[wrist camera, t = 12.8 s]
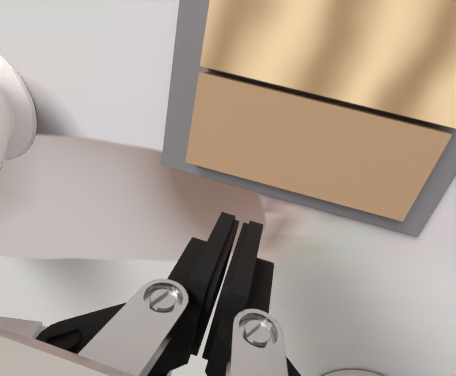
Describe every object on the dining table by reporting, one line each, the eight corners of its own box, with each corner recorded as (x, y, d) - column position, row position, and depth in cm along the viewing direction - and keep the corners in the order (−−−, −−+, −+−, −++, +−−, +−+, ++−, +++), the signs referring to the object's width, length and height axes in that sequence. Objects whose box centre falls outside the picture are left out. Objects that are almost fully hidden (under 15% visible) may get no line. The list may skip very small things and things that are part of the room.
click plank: (502, 17, 21) (521, 14, 19) (444, 122, 24) (456, 128, 22) (223, -42, 22) (217, -50, 21) (206, 64, 26) (199, 66, 24)
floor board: (576, -41, 20) (621, -54, 17) (414, 230, 30) (426, 249, 27) (197, -114, 22) (183, -136, 19) (164, 162, 32) (152, 173, 29)
